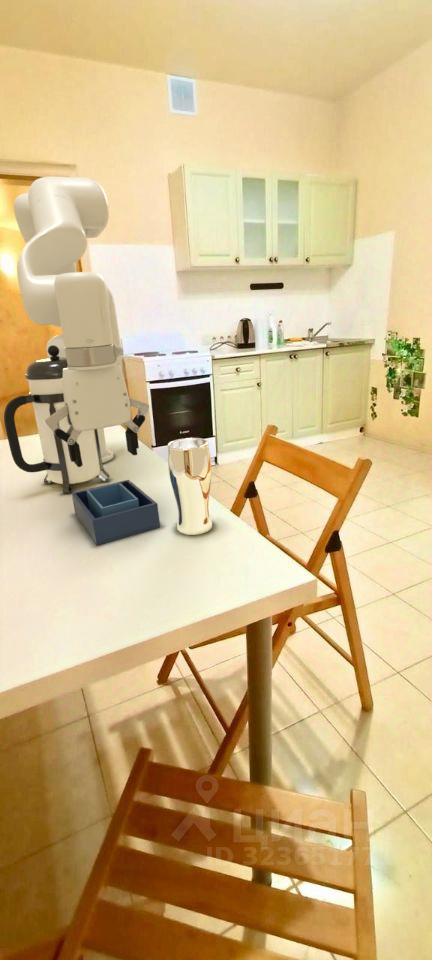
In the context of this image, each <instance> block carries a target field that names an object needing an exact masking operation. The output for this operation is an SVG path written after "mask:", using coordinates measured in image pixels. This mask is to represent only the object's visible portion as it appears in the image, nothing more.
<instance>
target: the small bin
mask: <svg viewBox="0 0 432 960" xmlns="http://www.w3.org/2000/svg"><path fill="white" fill-rule="evenodd" d="M115 483H116V482H115ZM111 484H112V483H111ZM107 485H108V484H107ZM103 486H104V485H103ZM98 487H99V486H98ZM94 488H95V487H94ZM90 489H91V488H90ZM86 492H87V498H88V504H89V510H90V513H91V514H92V515H93V516H94V518H95V519H96V518H99V517H103V516H107V515H111V514H114V513H118V512H122V511H126V510H130V509H133V508H137V507H139V501H138V498H137V497H135V496H134V495H133V494H132V493H131V492H130V491H129V490H128V489H126V488H125V487H124V486H123V485H122V484H121V483H116V484H112V485H108V486H104V487H99V488H95V489H91V490H87V491H86Z"/></svg>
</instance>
